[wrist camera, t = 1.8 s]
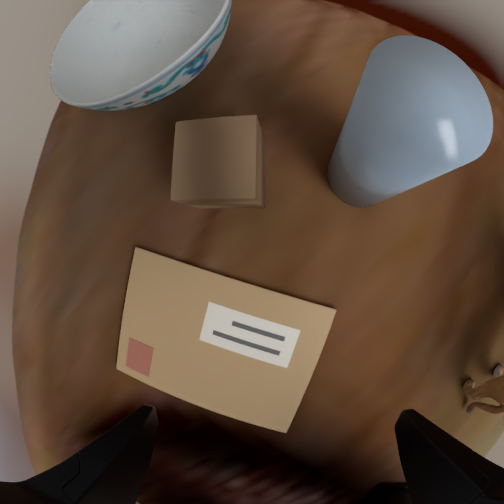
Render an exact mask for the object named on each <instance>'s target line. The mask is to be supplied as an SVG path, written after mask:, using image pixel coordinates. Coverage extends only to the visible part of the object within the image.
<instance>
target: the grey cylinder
mask: <svg viewBox="0 0 504 504" xmlns="http://www.w3.org/2000/svg"><path fill="white" fill-rule="evenodd" d="M492 132H493V116H492V111H491V106H490V103H489V100H488V97H487V95H486V93H485V91H484V89H483V87H482V85H481V83H480V82H479V80H478V79H477V77H476V76H475V74H474V73H473V72H472V71H471V69H470V68H469V67H468V66H467V65H466V64H465V63H464V62H463V61H462V60H461V59H460V58H459V57H457V56H456V55H455V54H454V53H452V52H451V51H449V50H448V49H446V48H445V47H443V46H441V45H439V44H437V43H435V42H433V41H430V40H427V39H424V38H421V37H416V36H396V37H391V38H389V39H386V40H384V41H382V42H381V43H379V44H378V45H377V46H376V47H375V48H374V49H373V51H372V52H371V54H370V56H369V58H368V61H367V64H366V67H365V69H364V72H363V75H362V78H361V80H360V83H359V86H358V88H357V91H356V94H355V97H354V99H353V102H352V104H351V107H350V110H349V112H348V115H347V118H346V120H345V123H344V125H343V128H342V130H341V133H340V136H339V138H338V141H337V143H336V146H335V148H334V151H333V153H332V156H331V158H330V161H329V164H328V168H327V176H328V181H329V184H330V187H331V189H332V190H333V192H334V193H335V195H336V196H337V197H338V198H339V199H340V200H342V201H343V202H344V203H346V204H348V205H351V206H354V207H360V208H361V207H370V206H373V205H375V204H377V203H379V202H382V201H384V200H386V199H389V198H391V197H393V196H395V195H398V194H400V193H402V192H404V191H407V190H409V189H411V188H413V187H416V186H418V185H420V184H422V183H425V182H427V181H429V180H431V179H434V178H436V177H438V176H440V175H442V174H445V173H447V172H449V171H451V170H454V169H456V168H458V167H460V166H463V165H465V164H467V163H469V162H471V161H473V160H475V159H477V158H478V157H480V156H481V155H482V154H483V153H484V152H485V150H486V149H487V147H488V145H489V143H490V141H491V138H492Z"/></svg>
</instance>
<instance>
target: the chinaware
mask: <svg viewBox="0 0 504 504" xmlns="http://www.w3.org/2000/svg"><path fill="white" fill-rule="evenodd" d="M230 12H231V0H90V1H89V2H88V3H87V4H86V5H85V6H84V7H83V8H82V9H81V10H80V11H79V12H78V13H77V14H76V16H75V17H74V18H73V19H72V21H71V22H70V23H69V25H68V26H67V27H66V29H65V31H64V32H63V34H62V36H61V38H60V39H59V41H58V44H57V46H56V48H55V51H54V54H53V57H52V61H51V66H50V82H51V86H52V89H53V91H54V93H55V94H56V96H57V97H58V98H59V99H60V100H62V101H63V102H65V103H67V104H69V105H72V106H76V107H80V108H85V109H91V110H101V111H116V110H127V109H133V108H137V107H141V106H145V105H148V104H151V103H154V102H156V101H159V100H161V99H163V98H165V97H167V96H169V95H171V94H173V93H174V92H176V91H178V90H179V89H181V88H182V87H184V86H185V85H186V84H188V83H189V82H190V81H191V80H193V79H194V78H195V77H196V76H197V75H198V74H199V73H200V72H201V71H202V70H203V69H204V68H205V67H206V66H207V64H208V63H209V62H210V61H211V59H212V58H213V56H214V55H215V53H216V52H217V50H218V48H219V47H220V45H221V43H222V41H223V38H224V36H225V33H226V30H227V27H228V23H229V19H230Z"/></svg>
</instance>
